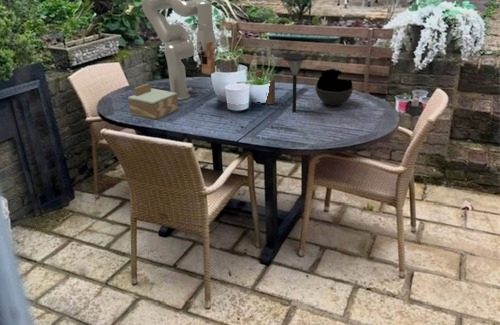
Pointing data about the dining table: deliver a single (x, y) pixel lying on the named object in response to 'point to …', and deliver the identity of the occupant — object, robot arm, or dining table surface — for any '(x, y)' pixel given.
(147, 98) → the lid
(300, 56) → the solar garden light
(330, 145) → the dining table surface
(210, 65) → the key post
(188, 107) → the dining table surface
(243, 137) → the dining table surface
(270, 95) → the wooden block
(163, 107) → the toolbox
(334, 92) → the bowl of black rocks
